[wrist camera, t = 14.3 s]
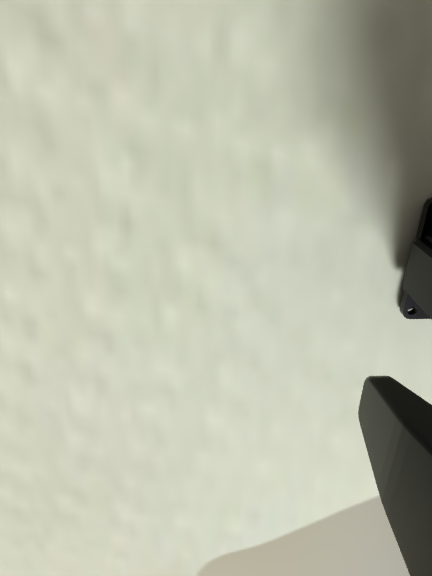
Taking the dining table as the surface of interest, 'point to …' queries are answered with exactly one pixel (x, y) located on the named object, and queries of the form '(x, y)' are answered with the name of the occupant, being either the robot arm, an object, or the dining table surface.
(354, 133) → the dining table surface
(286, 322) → the dining table surface
